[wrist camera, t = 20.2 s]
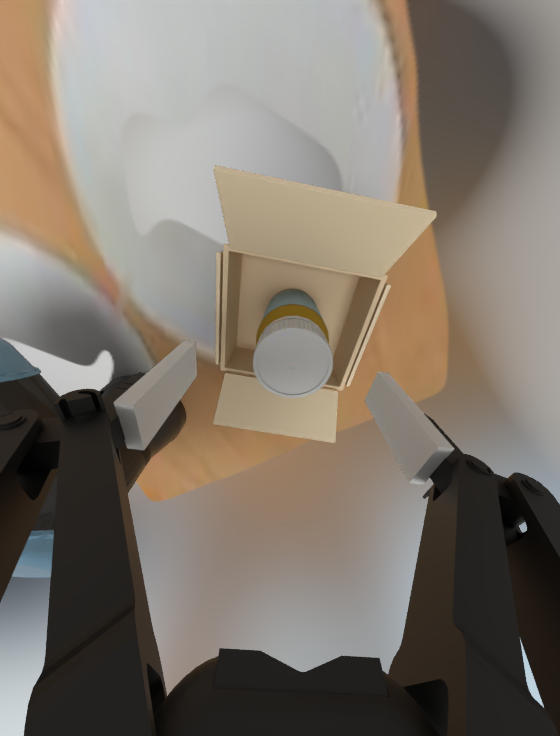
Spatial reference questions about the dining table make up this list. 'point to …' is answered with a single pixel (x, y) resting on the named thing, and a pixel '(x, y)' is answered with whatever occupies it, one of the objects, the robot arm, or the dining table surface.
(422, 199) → the dining table surface
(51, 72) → the dining table surface
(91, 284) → the dining table surface
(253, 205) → the front flap
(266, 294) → the carton
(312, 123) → the dining table surface
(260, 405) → the back flap
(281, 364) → the bottle
